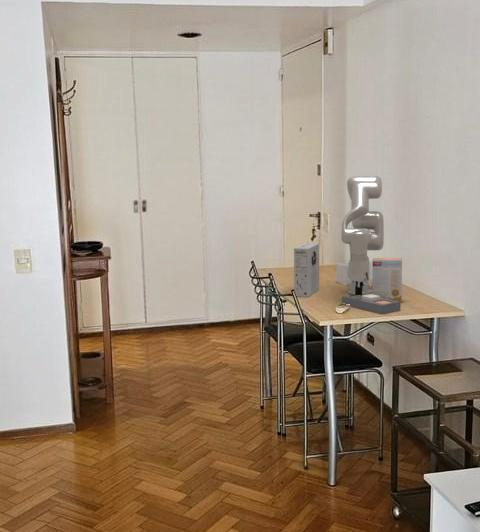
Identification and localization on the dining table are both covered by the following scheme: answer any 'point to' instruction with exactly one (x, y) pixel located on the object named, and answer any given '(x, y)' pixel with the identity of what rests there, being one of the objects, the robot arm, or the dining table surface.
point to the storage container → (343, 272)
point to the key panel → (372, 304)
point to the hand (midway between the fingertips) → (358, 294)
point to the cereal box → (306, 269)
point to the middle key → (370, 297)
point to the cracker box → (387, 278)
